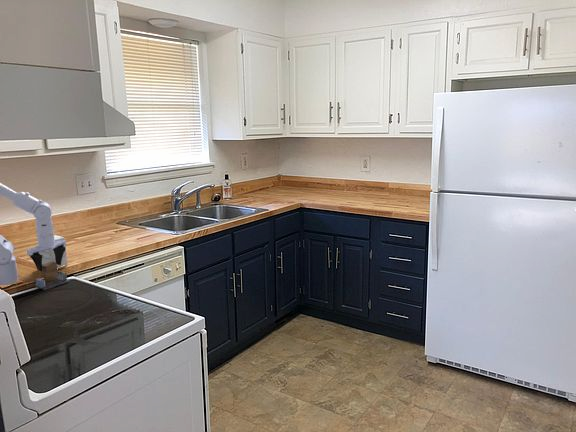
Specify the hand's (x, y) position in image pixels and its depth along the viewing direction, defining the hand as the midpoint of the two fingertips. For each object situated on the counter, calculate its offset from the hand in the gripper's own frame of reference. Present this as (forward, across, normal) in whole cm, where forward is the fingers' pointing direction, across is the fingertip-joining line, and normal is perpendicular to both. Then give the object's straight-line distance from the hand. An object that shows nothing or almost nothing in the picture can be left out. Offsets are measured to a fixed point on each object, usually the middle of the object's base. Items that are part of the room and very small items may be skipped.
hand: (49, 267), depth 179 cm
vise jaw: (+4, -7, -6) cm, 10 cm away
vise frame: (+4, -3, -6) cm, 8 cm away
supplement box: (+5, +8, +10) cm, 14 cm away
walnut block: (+4, 0, 0) cm, 4 cm away
